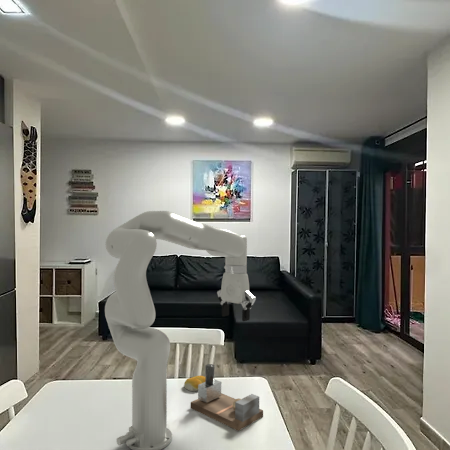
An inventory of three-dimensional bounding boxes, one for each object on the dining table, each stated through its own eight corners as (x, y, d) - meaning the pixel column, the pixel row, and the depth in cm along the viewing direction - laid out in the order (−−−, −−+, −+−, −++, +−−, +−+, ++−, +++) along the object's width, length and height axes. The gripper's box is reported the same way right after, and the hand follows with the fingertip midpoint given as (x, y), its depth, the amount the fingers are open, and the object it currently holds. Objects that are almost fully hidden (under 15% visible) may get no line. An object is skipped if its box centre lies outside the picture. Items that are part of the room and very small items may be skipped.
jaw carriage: (206, 402, 131) (206, 370, 130) (198, 399, 133) (198, 366, 133) (221, 396, 136) (221, 364, 136) (212, 392, 138) (212, 361, 138)
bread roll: (212, 386, 150) (212, 376, 150) (195, 394, 143) (195, 383, 143) (197, 380, 156) (198, 370, 156) (180, 387, 149) (180, 376, 149)
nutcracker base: (238, 431, 118) (238, 407, 118) (190, 408, 132) (190, 387, 132) (263, 416, 127) (263, 394, 127) (215, 396, 141) (215, 376, 141)
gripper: (211, 268, 144) (210, 315, 144) (247, 272, 132) (247, 324, 132) (225, 267, 150) (224, 312, 150) (261, 271, 138) (261, 320, 138)
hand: (235, 318), depth 141 cm, fingers open, 9 cm apart
